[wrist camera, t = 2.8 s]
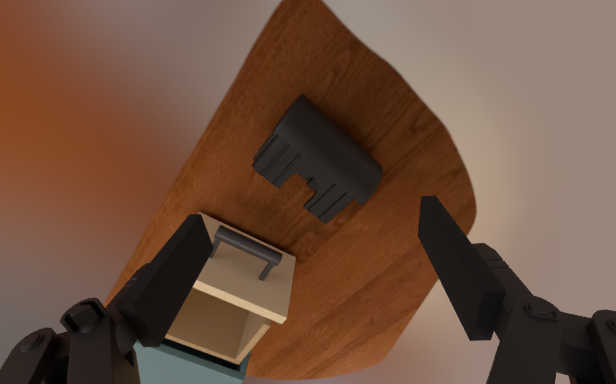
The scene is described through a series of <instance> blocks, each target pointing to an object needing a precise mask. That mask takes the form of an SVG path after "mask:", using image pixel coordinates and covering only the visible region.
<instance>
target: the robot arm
mask: <svg viewBox="0 0 616 384" xmlns="http://www.w3.org/2000/svg"><path fill="white" fill-rule="evenodd" d="M418 237H419V239H420V241H421V243H422V245H423V247H424V249H425V251H426V253H427V255H428V257H429V259H430V261H431V263H432V265H433V267H434V269H435V271H436V273H437V275H438V277H439V279H440V281H441V283H442V285H443V287H444V289H445V291H446V293H447V295H448V297H449V299H450V301H451V303H452V306H453V307H454V310H455V312H456V314H457V315H458V318H459V320H460V322H461V324H462V326H463V327H464V330H465V332H466V334H467V336H468V338H469V340H470V341H477V340H491V338H492V335H493V332H494V331H495V333H496V335H497V336H498V338H499V340H500V343H499V346H498V348H497V351H496V355H495V358H494V361H493V364H492V367H491V370H490V373H489V376H488V379H487V382H486V384H555V378H556V372H558V373H561V374H565V375H568V376H569V379H570V383H571V384H616V311H611V310H599V311H597V312H595V313H594V314H593V316H592V318H587V317H583V316H578V315H573V314H568V313H564V312H561V311H559V310H558V308H556V307H555V306H554V305H553V304H551V303H550V302H548V301H546V300H544V299H542V298H540V297H536V296H533V294H532V293H531V292H530V291H529V290H528V288H527V287H526V286H525V285H524V284H523V283H522V281H521V280H520V279H519V278H518V277H517V276H516V274H515V273H514V272H513V271H512V270H511V269H510V268H509V266H508V265H507V264H506V263H505V261H503V259H502V258H501V256H500V255H499V254H498V253H497V252H496V251H495V250H494V249H492V248H491V247H489V246H488V245H486V244H485V243H478V244H471V242H470V241H469V240H468V238H467V237H466V236H465V234H464V233H463V232H462V230H461V229H460V228H459V226H458V225H457V224H456V222H455V221H454V220H453V218H452V217H451V216H450V214H449V213H448V212H447V210H446V209H445V208H444V206H443V205H442V204H441V202H440V201H439V200H438V198H437V197H436V196H423V197H421V205H420V217H419V228H418ZM213 249H214V247H213V244H212V242H211V239H210V236H209V234H208V231H207V228H206V226H205V223H204V220H203V218H202V215H201V214H193V215H189V216H188V217H187V218H186V220H185V221H184V222H183V223H182V224H181V226H180V227H179V228H178V229H177V231H176V232H175V233H174V234H173V235H172V237H171V238H170V239H169V240H168V242H167V243H166V244H165V245H164V247H163V248H162V249H161V250H160V251H159V253H158V254H157V255H156V256H155V258H154V259H153V260H152V261H151V262H150V263H146V264H145V265H144V266H142V267H141V268H140V269H139V270H137V271H136V272H135V274H134V275H133V276H132V277H131V278H130V281H128V282H127V283H126V284H125V285H124V287H123V288H122V289H121V290H120V291H119V292H118V294H117V295H116V296H115V297H114V298H113V300H112V301H111V302H110V303H109V304H108V305H107V307H106V308H104V306H103V305H102V303H101V302H100V301H99V299H97V298H88V299H86V300H83V301H80V302H79V303H77V304H75V305H74V306H72V307H71V308H70V309H69V310H67V311H66V312H65V313H64V315H63V316H62V318H61V320H60V322H61V324H62V325H63V326H64V327H65V328H66V329H67V332H64V333H60V334H56V333H55V332H54V331H53V329H52V328H43V329H39V330H38V331H35V332H33V333H31V334H30V335H28V336H26V337H25V338H24V339H22V340H21V341H20V342H19V343H18V344H17V345H16V346H15V347H14V349H13V350H12V351H11V353H10V354H9V356H8V358H7V359H6V361H5V363H4V364H3V366H2V367H1V369H0V384H141V382H140V376H139V369H138V362H137V356H136V351H135V349H134V348H133V346H134V344H135V343H136V341H137V340H139V342H140V343H141V345H142V346H143V347H160V345H161V343H162V341H163V339H164V338H165V336H166V334H167V332H168V330H169V329H170V327H171V325H172V323H173V321H174V320H175V318H176V316H177V314H178V312H179V311H180V309H181V307H182V305H183V303H184V302H185V300H186V298H187V296H188V294H189V293H190V291H191V289H192V287H193V285H194V284H195V282H196V280H197V278H198V276H199V275H200V273H201V271H202V269H203V267H204V266H205V264H206V262H207V260H208V258H209V257H210V255H211V253H212V251H213Z"/></svg>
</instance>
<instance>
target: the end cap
mask: <svg viewBox="0 0 616 384" xmlns="http://www.w3.org/2000/svg"><path fill="white" fill-rule="evenodd" d="M273 131H274V132H273V133H272V134H271V135H270V137H269V138H268V139H267V140H266V142H265V143H264V144H263V145H262V146H261V148H260V149H259V152H258V153H257V154H256V156H255V157H254V158H253V160H254V163H253V164H252V167H253V169H254V170H255V171H256V172H257V173H259V174H260V175H261V176H263V177H264V178H265V179H267V180H268V181H269V182H271V183H272V184H273V185H275V186H276V187H277V188H279V187H280V186H281V185H282V184H283V183H284V182H285V181H286V180H287V179H288V178H289V177H290V176H291V175H293V174H296V173H298V174H300V175H301V176H302V177H303V178H305V179H306V180H307V181H308V183H307V186H308V187H310V188H311V189H312V190H313V191H315V192H316V193H315V194H314V195H313V196H312V197H311V198H310V199H309V200H308V201H307V202H306V203H305V204H304V206H303V207H304V208H305V209H306V210H308V211H309V212H310V213H312V214H313V215H314V216H316V217H317V218H318V219H320V220H321V221H322V222H324V223H328V222H329V221H330V220H331V219H333V218H334V217H335V216H336V215H337V214H338V213H339V212H341V211H342V210H343V209H344V208H345V207H346V206H347V205H349V204H350V203H351V202H352V201H353V200H354V199H355V200H356V201H358V202H359V203H360V204H361V205H363V204H364V203H365V202H366V201H367V200H368V199H369V198H370V197H371V196H372V194H373V193H374V192H375V190H376V189H377V187H378V185H379V183H380V181H381V178H382V173H383V170H382V166H381V165H380V164H379V163H378V162H377V161H376V160H375V159H374V158H373V157H371V156H370V155H369V154H368V153H367V152H366V151H365V150H364V149H363V148H362V147H360V146H359V145H358V144H357V143H356V142H355V141H354V140H353V139H352V138H351V137H349V136H348V135H347V134H346V133H345V132H344V131H343V130H342V129H341V128H340V127H338V126H337V125H336V124H335V123H334V122H333V121H332V120H331V119H330V118H329V117H328V116H326V115H325V114H324V113H323V112H322V111H321V110H320V109H319V108H318V107H317V106H315V105H314V104H313V103H312V102H311V101H310V100H309V99H308V98H307V97H306V96H304V95H299V96H298V97H297V99H296V100H295V101H294V102H293V103H292V104H291V106H290V107H289V108H288V109H287V110H286V112H285V113H284V114H283V116H282V117H281V119H280V120H279V122H278V124H277V125H276V127H275V128H274V130H273Z"/></svg>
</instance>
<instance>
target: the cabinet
mask: <svg viewBox="0 0 616 384" xmlns="http://www.w3.org/2000/svg"><path fill="white" fill-rule="evenodd" d="M133 348H134V349H135V351H136V356H137V362H138V369H139V376H140V382H141V384H241V383H242V382H243V381H244V377H245V373H246V369H247V365H248V361H249V357H250V353H251V350H250V352H249V353H248V354H247V355H246V356H245V358H244V359H243V360H242V361H241V362H240V364H239V365H238V364H235V363H233V362H230V361H227V360H224V359H222V358H219V357H216V356H213V355H211V354H208V353H205V352H202V351H200V350H197V349H194V348H192V347H189V346H186V345H183V344H181V343H178V342H175V341H172V340H170V339H167V338H164V339H163V341H162V343H161V345H160V347H143V346H142V345H141V343H140V342H139V340H137V341H136V343H135V344H134V346H133Z"/></svg>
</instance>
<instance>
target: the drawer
mask: <svg viewBox="0 0 616 384" xmlns="http://www.w3.org/2000/svg"><path fill="white" fill-rule="evenodd" d="M197 214H201V215H202V218H203V220H204V223H205V226H206V228H207V231H208V234H209V236H210V239H211V242H212V244H213V247H214V249H213V251H212V253H211V255H210V257H209V258H208V260H207V262H206V264H205V266H204V267H203V269H202V271H201V273H200V275H199V276H198V278H197V280H196V282H195V284H194V285H193V287H192V289H191V291H190V293H189V294H188V296H187V298H186V300H185V302H184V303H183V305H182V307H181V309H180V311H179V312H178V314H177V316H176V318H175V320H174V321H173V323H172V325H171V327H170V329H169V330H168V332H167V334H166V336H165V338H167V339H170V340H172V341H175V342H178V343H181V344H183V345H186V346H189V347H192V348H194V349H197V350H200V351H202V352H205V353H208V354H211V355H213V356H216V357H219V358H222V359H224V360H227V361H230V362H233V363H235V364H238V365H239V364H240V362H241V361H242V360H243V359H244V358H245V356H246V355H247V354H248V353H249V352H250V350H251V349H252V348H253V347H254V346H255V344H256V343H257V342H258V341H259V340H260V338H261V337H262V336H263V335H264V334H265V332H266V331H267V330H268V329H269V328H270V326H271V322H272V320H273V321H275V322H278V323H280V324H282V323H283V322H284V321H285V320H286V319H287V315H288V308H289V301H290V294H291V288H292V281H293V274H294V268H295V261H296V257H294V256H292V255H290V254H287V253H285V252H283V251H281V250H279V249H277V248H275V247H273V246H270V245H268V244H266V243H264V242H262V241H260V240H258V239H256V238H254V237H251V236H249V235H247V234H245V233H243V232H241V231H239V230H237V229H234V228H232V227H230V226H228V225H226V224H224V223H222V222H220V221H217V220H215V219H213V218H211V217H209V216H207V215H205V214H203V213H201V212H198V213H197Z"/></svg>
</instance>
